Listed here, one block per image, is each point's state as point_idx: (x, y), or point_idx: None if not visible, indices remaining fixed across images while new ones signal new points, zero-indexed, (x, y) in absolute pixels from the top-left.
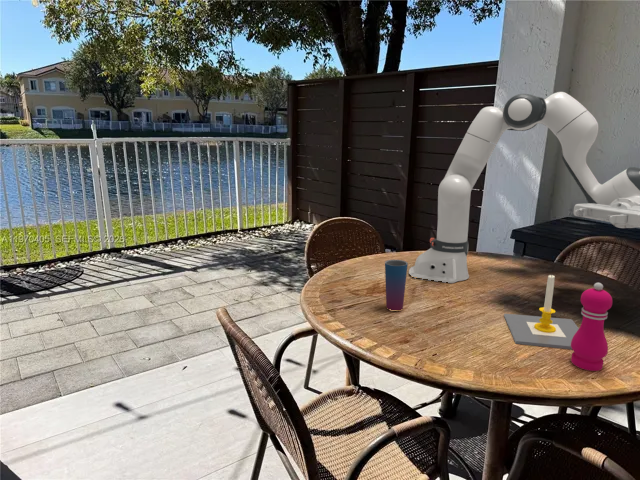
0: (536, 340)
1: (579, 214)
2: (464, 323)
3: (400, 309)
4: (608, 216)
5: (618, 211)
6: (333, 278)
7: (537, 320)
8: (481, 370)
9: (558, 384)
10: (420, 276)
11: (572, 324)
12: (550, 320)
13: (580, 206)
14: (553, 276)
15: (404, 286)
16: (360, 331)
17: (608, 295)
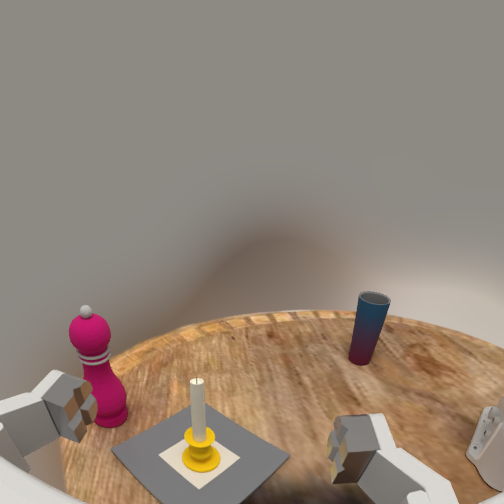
0: (183, 417)
1: (331, 435)
2: (287, 396)
3: (350, 357)
4: (77, 378)
5: (5, 460)
6: (463, 342)
7: (234, 478)
8: (184, 345)
9: (120, 366)
10: (483, 414)
11: None
12: (192, 449)
13: (495, 495)
14: (193, 383)
15: (358, 331)
16: (307, 322)
17: (73, 320)
